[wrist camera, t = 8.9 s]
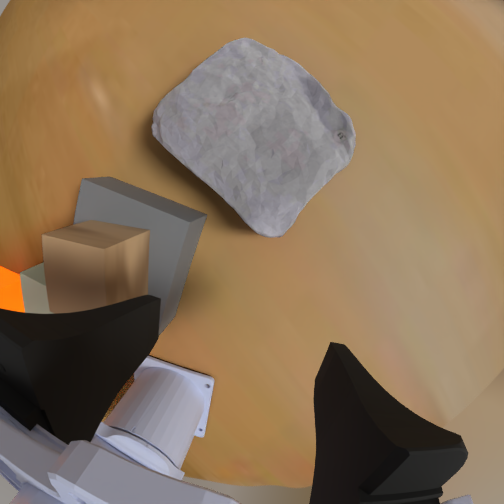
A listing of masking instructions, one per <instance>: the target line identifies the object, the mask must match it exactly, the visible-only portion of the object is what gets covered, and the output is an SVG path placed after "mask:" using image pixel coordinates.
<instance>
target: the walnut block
mask: <svg viewBox="0 0 504 504" xmlns="http://www.w3.org/2000/svg"><path fill="white" fill-rule="evenodd" d="M149 241H150V230H147V229H141V228H136V227H130V226H124V225H118V224H112V223H107V222H101V221H95V220H89V221H85V222H82V223H78V224H74V225H71V226H68V227H64V228H61V229H57V230H54V231H51V232H48V233H44V234H42V249H43V262H44V273H45V282H46V290H47V297H48V303H49V310H50V312H52V313H54V314H55V313H71V312H79V311H85V310H91V309H95V308H99V307H103V306H107V305H111V304H115V303H118V302H122V301H125V300H129V299H132V298H136V297H139V296H143V295H148V266H149Z"/></svg>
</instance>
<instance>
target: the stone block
mask: <svg viewBox="0 0 504 504" xmlns="http://www.w3.org/2000/svg"><path fill="white" fill-rule="evenodd" d="M151 127H152V133H153V136H154V137H155V138H156V139H157V140H158V141H159V142H160V143H161V144H162V145H163V146H164V147H165V148H166V149H167V150H168V151H169V152H170V153H171V154H172V155H173V156H175V157H176V158H177V159H178V160H179V161H180V162H181V163H182V164H183V165H185V166H186V167H187V168H188V169H189V170H190V171H191V172H193V173H194V174H195V175H196V176H197V177H199V178H200V179H201V180H203V181H204V182H205V183H206V184H207V185H209V186H210V187H211V188H212V189H213V190H214V191H216V192H217V193H218V194H219V195H220V196H221V197H222V198H223V199H224V200H225V201H226V202H227V203H228V204H229V205H230V206H231V207H232V208H233V209H234V210H235V211H236V212H237V213H238V215H239V216H240V217H241V218H242V219H243V221H244V222H245V223H246V224H248V225H249V226H250V227H251V228H252V229H253V230H254V231H255V232H256V233H258V234H260V235H262V236H264V237H281V236H283V235H284V234H285V232H286V231H287V230H288V229H289V228H290V227H291V226H292V225H293V223H294V222H295V221H296V218H297V215H298V214H299V212H300V211H301V210H302V209H303V208H304V207H305V205H306V204H307V202H308V201H309V200H310V199H311V198H312V197H313V196H314V195H315V194H316V193H317V192H318V191H319V190H320V189H321V188H322V187H323V186H324V185H325V184H326V183H328V182H329V181H330V179H331V178H332V177H333V176H334V175H335V174H336V173H338V172H340V171H341V170H343V169H344V168H345V167H346V166H347V165H348V164H349V162H350V160H351V158H352V156H353V153H354V148H355V145H356V144H355V131H354V128H353V124H352V120H351V118H350V117H349V116H348V114H347V113H345V112H344V111H342V110H340V109H339V108H338V107H336V105H335V104H334V103H333V101H332V99H331V97H330V95H329V93H328V92H327V91H326V90H325V89H324V88H323V86H322V85H321V84H320V83H319V82H318V81H317V80H316V79H315V78H314V77H313V76H312V75H311V74H309V73H308V72H307V71H306V70H305V69H304V68H303V67H302V66H301V65H300V64H298V63H297V62H295V61H293V60H292V59H290V58H288V57H286V56H284V55H280V54H278V53H277V52H276V51H275V50H274V49H271V48H268V47H266V46H264V45H262V44H261V43H258V42H256V41H255V40H252V39H249V38H241V39H238V40H234V41H232V42H229V43H227V44H226V45H224V46H223V47H222V48H221V49H219V50H218V51H217V52H216V53H214V54H213V55H212V56H210V57H209V58H207V59H206V60H205V61H204V62H202V63H201V64H200V65H199V66H198V67H197V68H195V69H194V70H193V71H192V72H191V74H190V75H189V76H188V77H187V78H186V79H185V80H184V81H183V82H182V83H180V84H179V85H178V86H176V87H175V88H174V89H173V90H172V91H170V92H169V93H168V94H167V95H166V96H165V97H164V98H163V99H162V100H161V101H160V103H159V104H158V106H157V107H156V109H155V110H154V115H153V125H152V126H151Z"/></svg>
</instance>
